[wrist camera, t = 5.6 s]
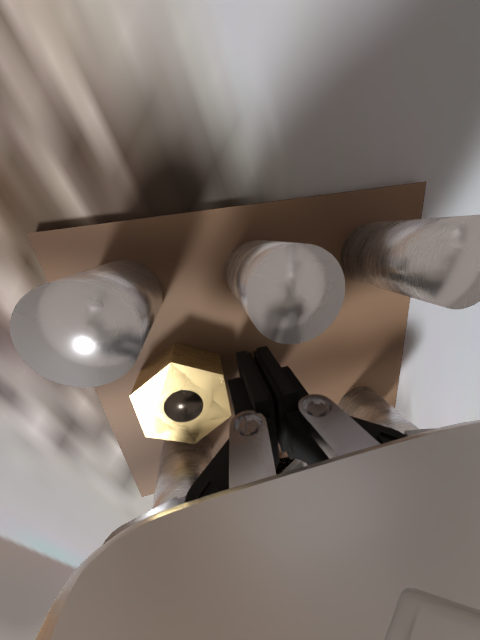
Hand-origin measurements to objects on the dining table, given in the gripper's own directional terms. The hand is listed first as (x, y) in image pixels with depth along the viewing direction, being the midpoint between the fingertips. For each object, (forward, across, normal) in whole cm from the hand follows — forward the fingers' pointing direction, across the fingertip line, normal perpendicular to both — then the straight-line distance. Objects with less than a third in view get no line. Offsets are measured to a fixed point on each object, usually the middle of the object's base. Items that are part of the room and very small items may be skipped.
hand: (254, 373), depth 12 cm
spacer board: (+1, -1, 0) cm, 2 cm away
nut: (+1, +4, 0) cm, 4 cm away
